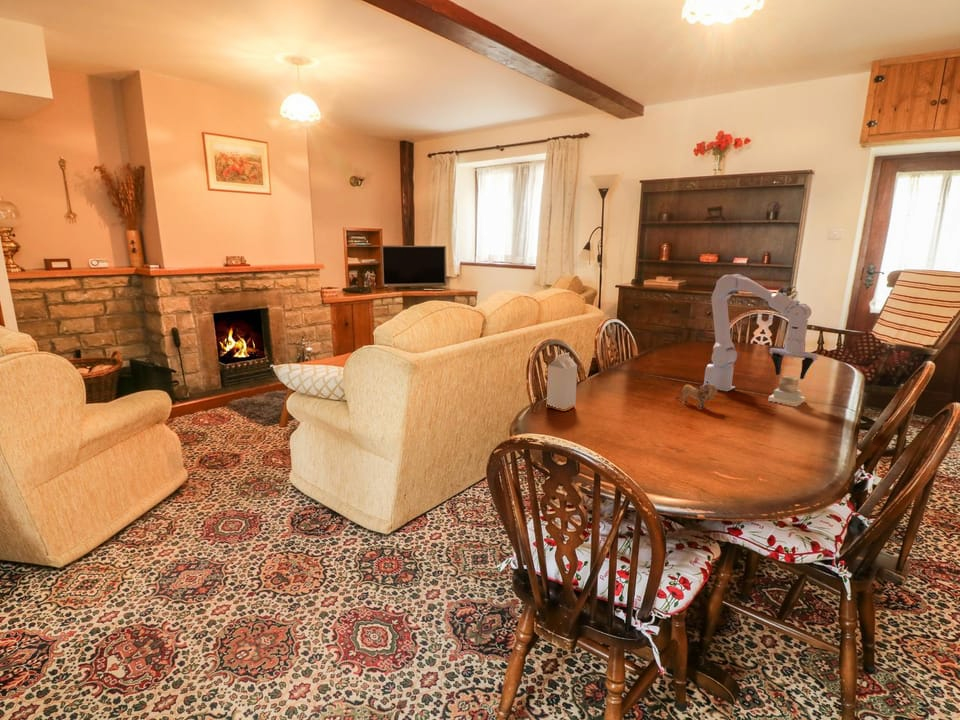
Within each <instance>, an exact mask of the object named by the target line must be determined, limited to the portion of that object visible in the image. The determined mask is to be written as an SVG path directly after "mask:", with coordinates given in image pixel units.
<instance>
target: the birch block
mask: <svg viewBox="0 0 960 720" xmlns="http://www.w3.org/2000/svg"><path fill="white" fill-rule="evenodd" d="M799 379H800V377H799V378H798V377H794V376H789V375H784V376H781V377H779V382H778V383H779V384H778V387H779V388H778V387H777V388H778V390H781V391H786V392H791V393H793V392H795V391H797V390H798V385H799Z"/></svg>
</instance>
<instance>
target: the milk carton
mask: <svg viewBox="0 0 960 720" xmlns="http://www.w3.org/2000/svg"><path fill="white" fill-rule="evenodd" d="M577 377H578V364H577V363H576V362H575V361H574V360H573V358H572V357H571V356H570V352H565V353H561V354H559V355H558V354H557V355H556V359H555V360H553V361H552V362H551V363H549V364H548V366H547V383H546V384H547V387H546V388H547V389H546V405H547V404H548V405H550V406H553V407H556V408H561V409H566V408H568V407H570V406H572V405H575V406H576V401H577V400H576V399H577V383H578V382H577V380H578V379H577Z"/></svg>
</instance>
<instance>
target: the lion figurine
mask: <svg viewBox="0 0 960 720" xmlns="http://www.w3.org/2000/svg"><path fill="white" fill-rule="evenodd" d="M703 385H704V384H703ZM703 385H700V386H698V387H694V386H693V385H691V384H685V385H684V386H683V388H682V390H681V393H680V395H679V396H677V397H675V398H674V399H675V400H679V399H682V404H683V405H687V399H686V398H687V397H688V396H690V397H691V398H692V399H695V400H696V401H697V409H698V410H702V407H703V409H705V408H706V406H705V405H704V404H705V402H709V400H712V399H713V398H715V397H716V395H717V394H718V389H716V387H715V386H714V385H713V384H707V385H704V386H703ZM681 397H682V398H681Z"/></svg>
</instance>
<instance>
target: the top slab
mask: <svg viewBox="0 0 960 720" xmlns="http://www.w3.org/2000/svg"><path fill="white" fill-rule="evenodd" d="M778 388H779V386H778V387H777V388H775V389H774V390H773V394H774V395H773V394H772V395H773V397H775V398H780V399H785V400H791V401H797V400H798V399H799V398H800V397H802V390H800V389H797V391H795V392H793V393H791V392H786V391H781V390H778Z"/></svg>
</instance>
